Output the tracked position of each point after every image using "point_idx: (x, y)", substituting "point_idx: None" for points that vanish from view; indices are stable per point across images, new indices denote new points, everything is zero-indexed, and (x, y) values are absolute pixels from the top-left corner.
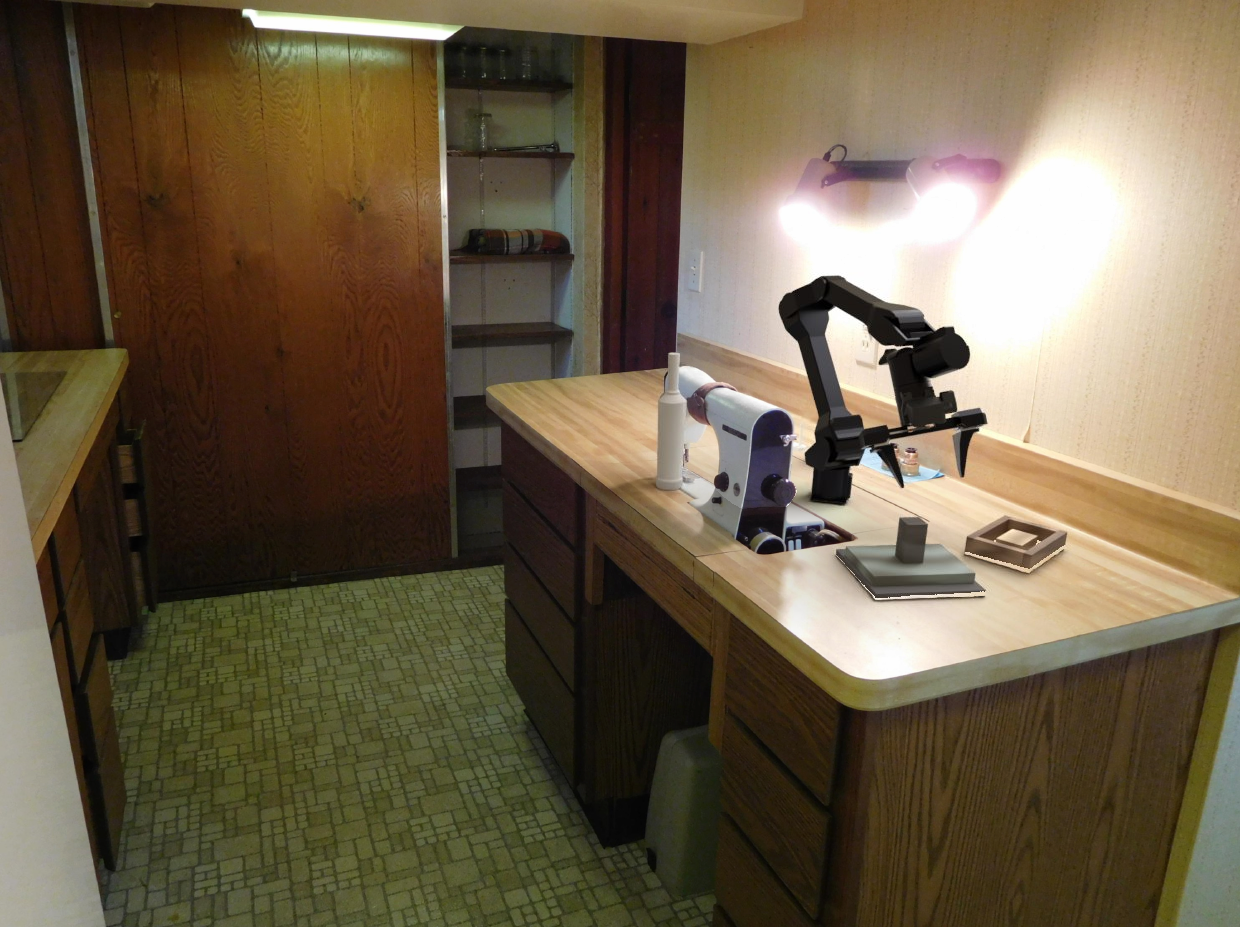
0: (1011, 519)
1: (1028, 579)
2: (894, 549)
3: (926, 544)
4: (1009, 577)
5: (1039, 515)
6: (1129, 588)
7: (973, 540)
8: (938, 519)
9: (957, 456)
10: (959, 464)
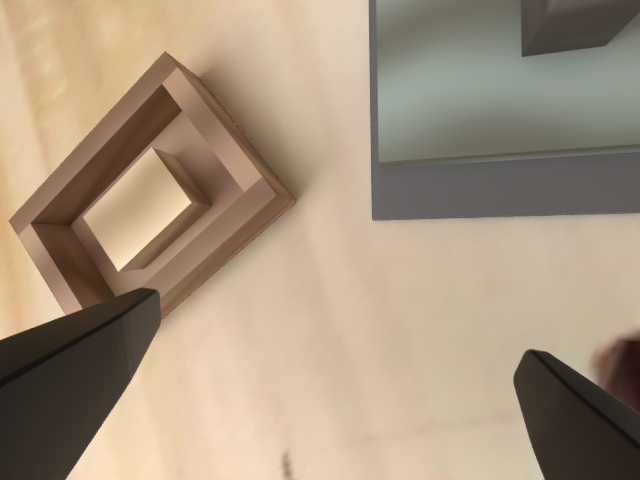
0: None
1: (213, 46)
2: (581, 103)
3: (432, 153)
4: (251, 54)
5: None
6: (44, 16)
7: (265, 179)
8: (250, 464)
9: (45, 443)
10: (102, 346)
